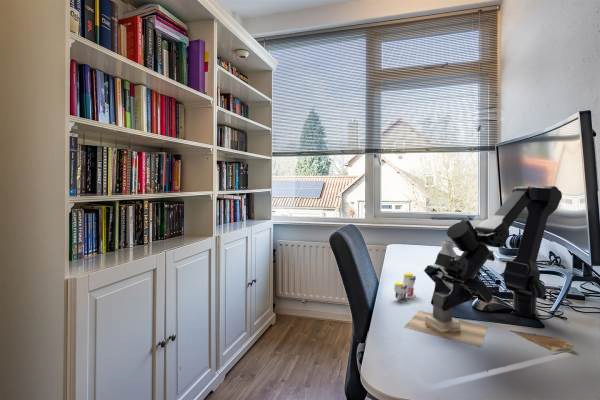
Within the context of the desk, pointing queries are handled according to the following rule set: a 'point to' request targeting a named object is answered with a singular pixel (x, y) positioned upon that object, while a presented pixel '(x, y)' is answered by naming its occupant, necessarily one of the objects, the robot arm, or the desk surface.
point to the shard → (547, 342)
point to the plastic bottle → (447, 250)
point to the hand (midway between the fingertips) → (437, 307)
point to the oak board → (467, 333)
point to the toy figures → (405, 287)
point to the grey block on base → (441, 316)
